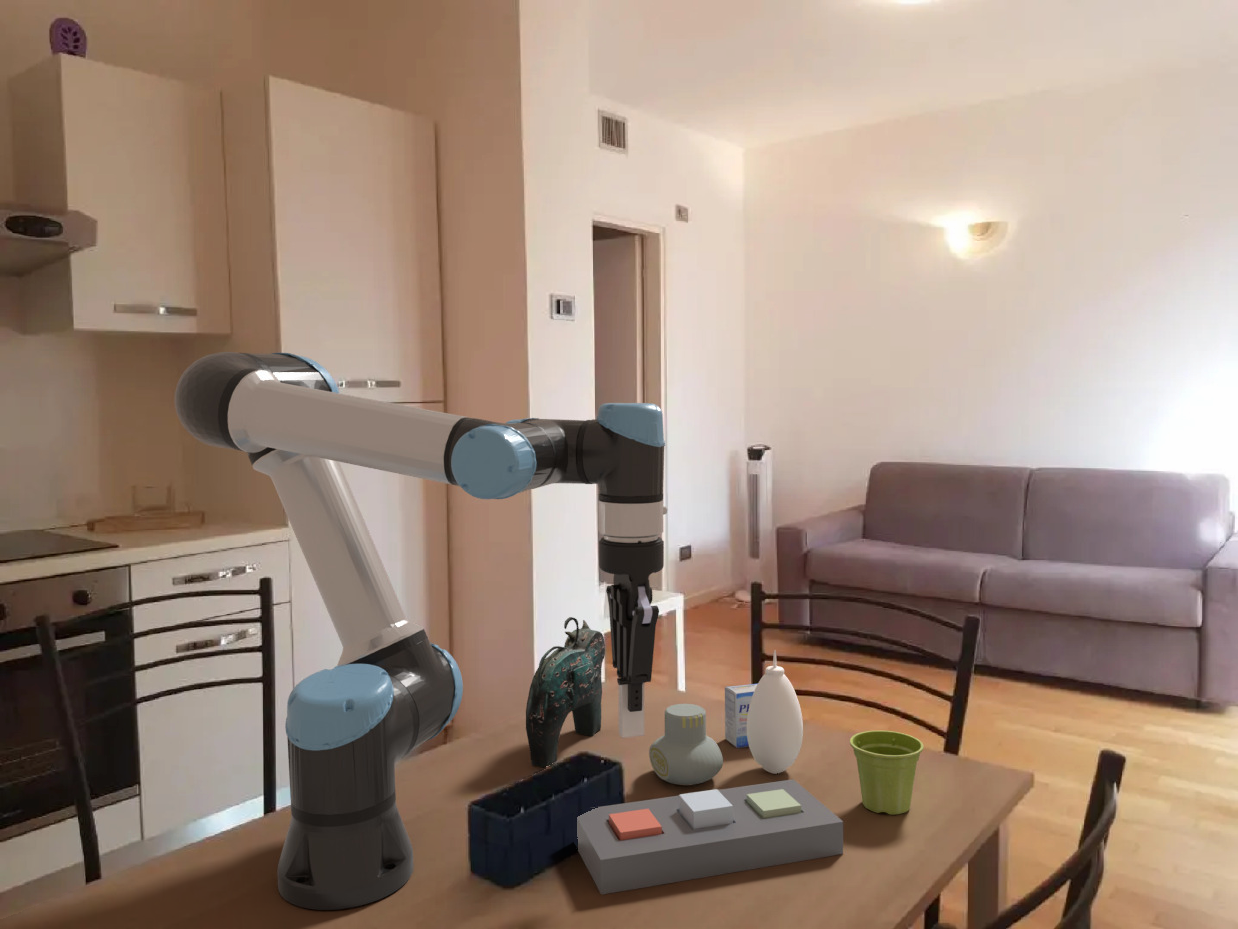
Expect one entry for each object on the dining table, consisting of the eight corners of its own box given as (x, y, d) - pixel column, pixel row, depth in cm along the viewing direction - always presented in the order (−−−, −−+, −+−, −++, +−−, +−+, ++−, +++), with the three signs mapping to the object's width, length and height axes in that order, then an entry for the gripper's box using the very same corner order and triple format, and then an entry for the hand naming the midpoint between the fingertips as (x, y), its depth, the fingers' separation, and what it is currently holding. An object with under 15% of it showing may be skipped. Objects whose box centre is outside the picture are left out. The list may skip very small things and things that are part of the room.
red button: (621, 857, 112) (620, 832, 112) (609, 838, 117) (608, 814, 117) (661, 851, 114) (661, 826, 114) (648, 832, 119) (648, 808, 118)
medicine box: (735, 749, 150) (735, 694, 149) (724, 739, 154) (724, 685, 153) (782, 743, 152) (782, 689, 151) (769, 733, 156) (769, 680, 155)
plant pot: (834, 800, 131) (835, 737, 130) (887, 785, 135) (888, 725, 135) (883, 827, 123) (884, 761, 122) (938, 811, 127) (939, 747, 126)
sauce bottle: (736, 770, 141) (736, 649, 140) (772, 756, 146) (772, 639, 145) (777, 787, 135) (777, 660, 134) (813, 772, 140) (813, 650, 139)
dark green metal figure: (581, 723, 162) (579, 605, 160) (616, 728, 159) (614, 608, 158) (518, 766, 144) (515, 634, 143) (556, 773, 141) (553, 638, 140)
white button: (693, 836, 115) (693, 811, 115) (679, 818, 120) (679, 794, 119) (733, 830, 116) (732, 806, 116) (717, 812, 121) (717, 789, 121)
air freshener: (729, 787, 136) (728, 717, 135) (675, 797, 133) (674, 726, 132) (694, 759, 146) (694, 694, 145) (644, 768, 143) (643, 702, 142)
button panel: (601, 894, 108) (600, 860, 107) (573, 842, 120) (572, 810, 120) (843, 854, 116) (843, 821, 116) (793, 808, 129) (793, 779, 128)
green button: (763, 835, 117) (763, 811, 117) (746, 817, 122) (746, 794, 122) (801, 829, 119) (801, 805, 119) (782, 812, 124) (782, 789, 123)
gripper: (681, 544, 107) (680, 751, 109) (644, 526, 120) (644, 713, 122) (615, 547, 105) (616, 759, 107) (585, 529, 117) (586, 719, 120)
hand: (631, 734), depth 114 cm, fingers closed
